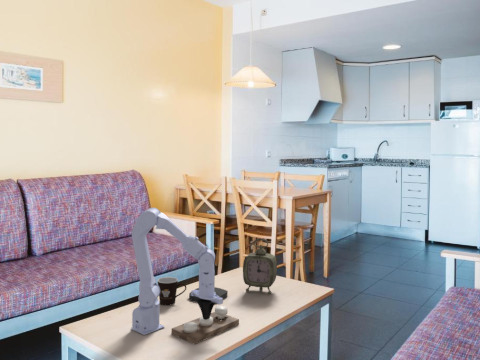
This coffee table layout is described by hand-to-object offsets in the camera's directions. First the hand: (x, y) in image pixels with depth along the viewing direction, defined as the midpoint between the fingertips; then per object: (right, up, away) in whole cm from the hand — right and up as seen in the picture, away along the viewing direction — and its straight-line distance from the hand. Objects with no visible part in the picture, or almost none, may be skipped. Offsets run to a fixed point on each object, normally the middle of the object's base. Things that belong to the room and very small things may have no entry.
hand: (206, 318), depth 164 cm
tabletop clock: (+22, -1, +44) cm, 49 cm away
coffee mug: (-17, -2, +26) cm, 32 cm away
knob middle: (0, -4, 0) cm, 4 cm away
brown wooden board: (0, -4, 0) cm, 4 cm away
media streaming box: (-2, -2, +35) cm, 35 cm away
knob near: (-5, -4, -6) cm, 9 cm away
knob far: (+5, -2, +6) cm, 8 cm away
